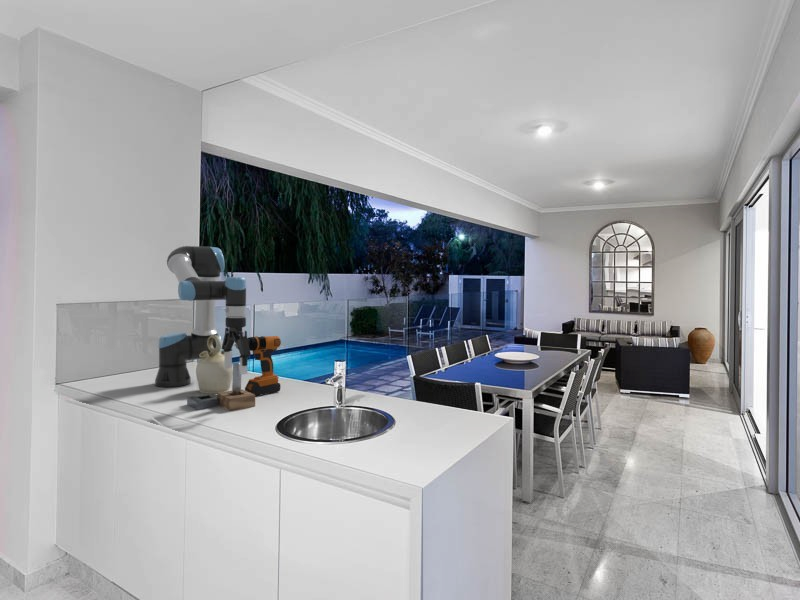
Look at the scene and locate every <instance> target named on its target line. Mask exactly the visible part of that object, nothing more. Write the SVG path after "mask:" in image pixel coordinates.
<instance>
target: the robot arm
mask: <svg viewBox="0 0 800 600" xmlns="http://www.w3.org/2000/svg"><path fill="white" fill-rule="evenodd" d="M225 263H226V262H225V258H224V255H223V251H222V249H220V248H219V247H214V246H197V245H196V246H191V245H185V246H184V245H183V246H179V247H177V248H175V249H174V250H172V251H171V252H170V253H169V255H168V257H167V260H166V264H167V267H168V270H169V271H170V272H171V273H172V274H174V275H175V278H176V279H177V280H178V282H179V283H178V286H177V293H178V298H179V299H180V300H181V301H188V302H192V301H195V313H194V314H195V315H194V318H195V319H194V328H193V329H192V330H191V334H190V335H187V332H175V333H169V334H166V335H162V336H161V337H159V339H158V347H157V348H158V370H157V373H156V376H155V379H154V385H155V386H156V387H159V388H174V387H175V388H176V387H181V386H182V387H183V386H186V385H189V384H191V381H192V380H191V378H192V377H191V376H190V372H189V369H188V367H187V365H188V364H187V361H193V360H200V359H201V357H199V355H200V353H201V352H203V351H208V354H209V353H210V352H211V351H210V350H209V348H208V345H207V341H208V338H209V337H210V336H211V335H217V336H218V337H219V338H220V340H221V341H222V338H221V335H220V334H219V333H218V330H217V329H216V328H215V317H216V316H215V315H216V313H215V312H216V301H225V308H224V311H225V316H226V317H225V329H224V336H223V341H222V343H221V344H222V345H221V349H222V350H224V352H225V369H226V368H232V365H233V360H232V359H233V346H234V345H235V344H236V343H237V346H238V351H239V354H240V355H239V362H240V375H241V376H242V375H247V374H248V358H249V357H250V356H251V351H250V348H249V344H248V339H247V338H248V334H247V333H248V331H247V330H243V328H245V327H246V326H247V318H246V315H247V281H246V277H243V276H226V278H225V280H218V279H219V278H220V277H221V273H224V272H225V267H226V266H225ZM212 345H213V347H214V349H216V341H215V339H214V338H213V341H212ZM220 351H221V350H220ZM220 351H219V352H220ZM220 353H221V352H220Z"/></svg>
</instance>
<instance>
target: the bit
mask: <svg viewBox="0 0 800 600" xmlns="http://www.w3.org/2000/svg"><path fill="white" fill-rule="evenodd" d="M232 365H233V375H232V381H231V384H232V385H231V386H232V387H231V388H232V390H231V391H232V396H236V395H241V389H242V374H241V375H240V361H239V362H237V361H236V362H232Z"/></svg>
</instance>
